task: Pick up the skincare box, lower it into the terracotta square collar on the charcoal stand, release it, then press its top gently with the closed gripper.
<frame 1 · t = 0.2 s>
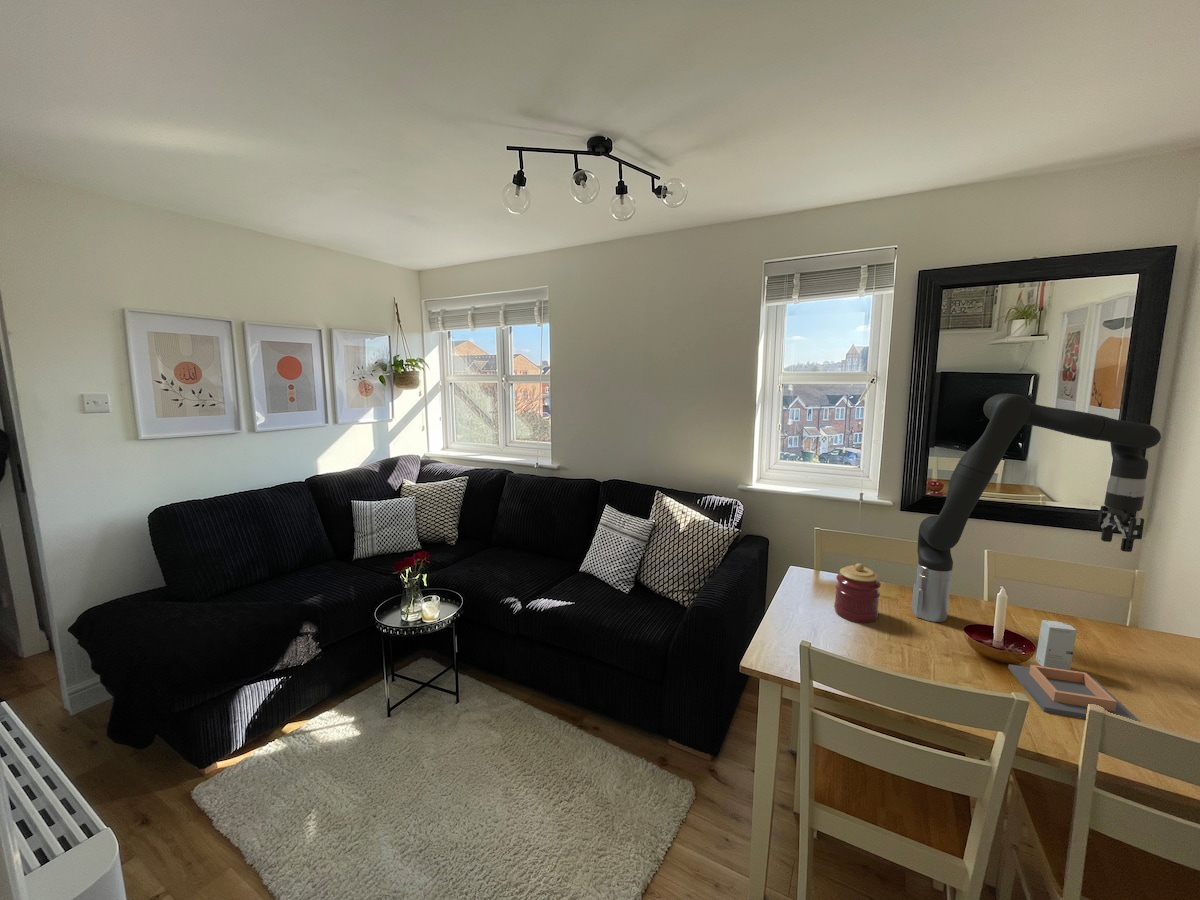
hand: (1115, 546, 143), 29 cm above the table, fingers open, 8 cm apart
skincare box: (1052, 666, 134), on the table
collar stand: (1068, 695, 122), on the table
canister: (855, 614, 163), on the table
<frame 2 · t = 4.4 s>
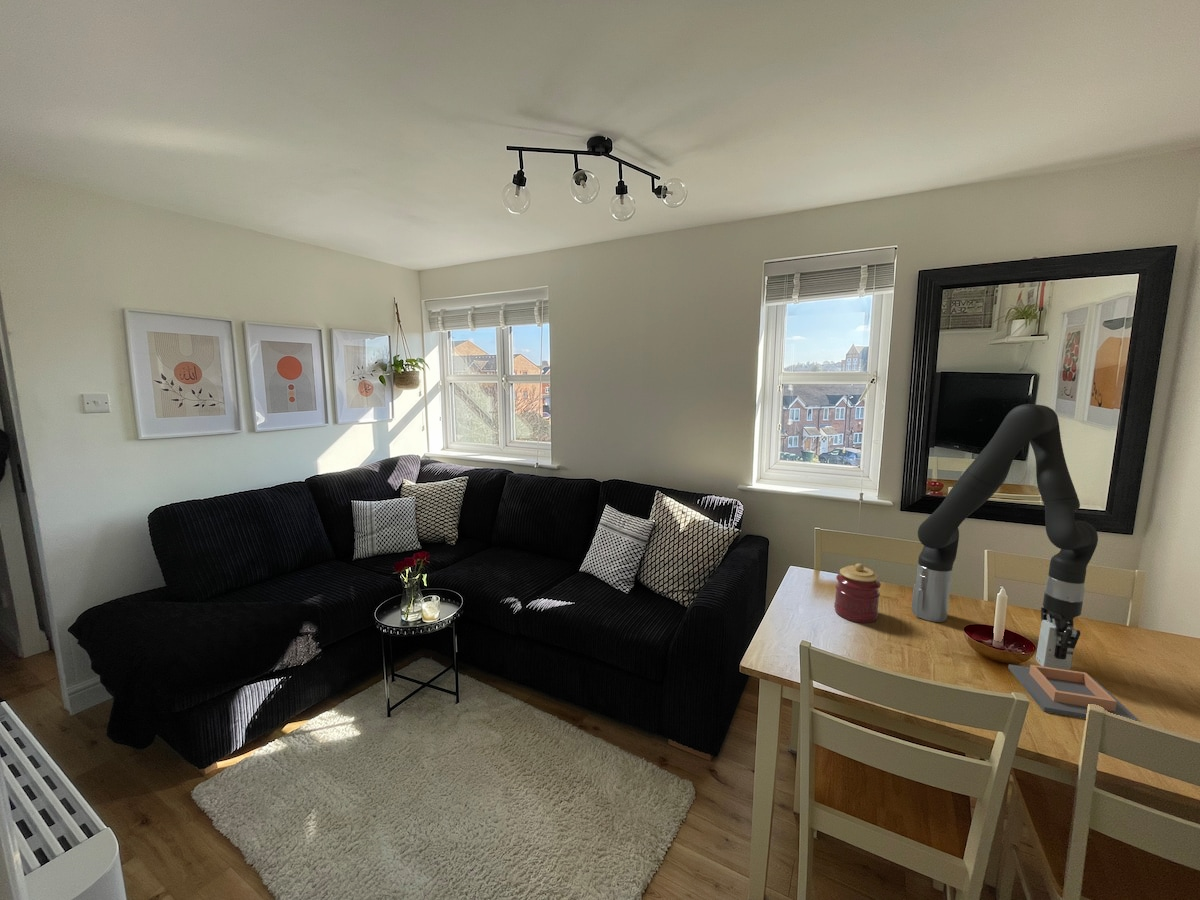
hand: (1054, 653, 133), 4 cm above the table, fingers closed on skincare box, 4 cm apart
skincare box: (1052, 666, 134), on the table, touching gripper
everything else where it was.
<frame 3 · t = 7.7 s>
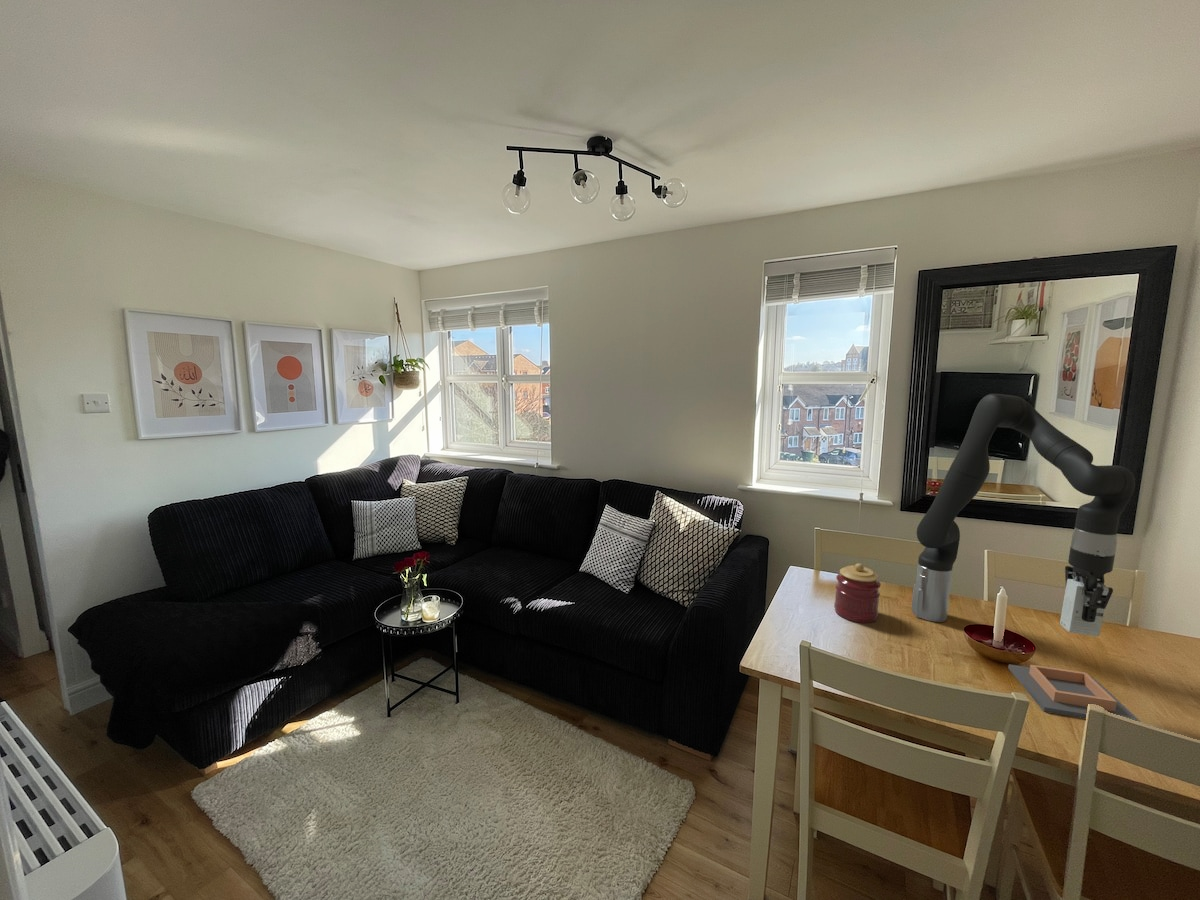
hand: (1081, 615, 118), 21 cm above the table, fingers closed on skincare box, 4 cm apart
skincare box: (1079, 631, 119), point 17 cm above the table, touching gripper
everything else where it was.
when the fingers open (6 cm above the table, at t = 11.3 s): skincare box drops 1 cm, resting on collar stand.
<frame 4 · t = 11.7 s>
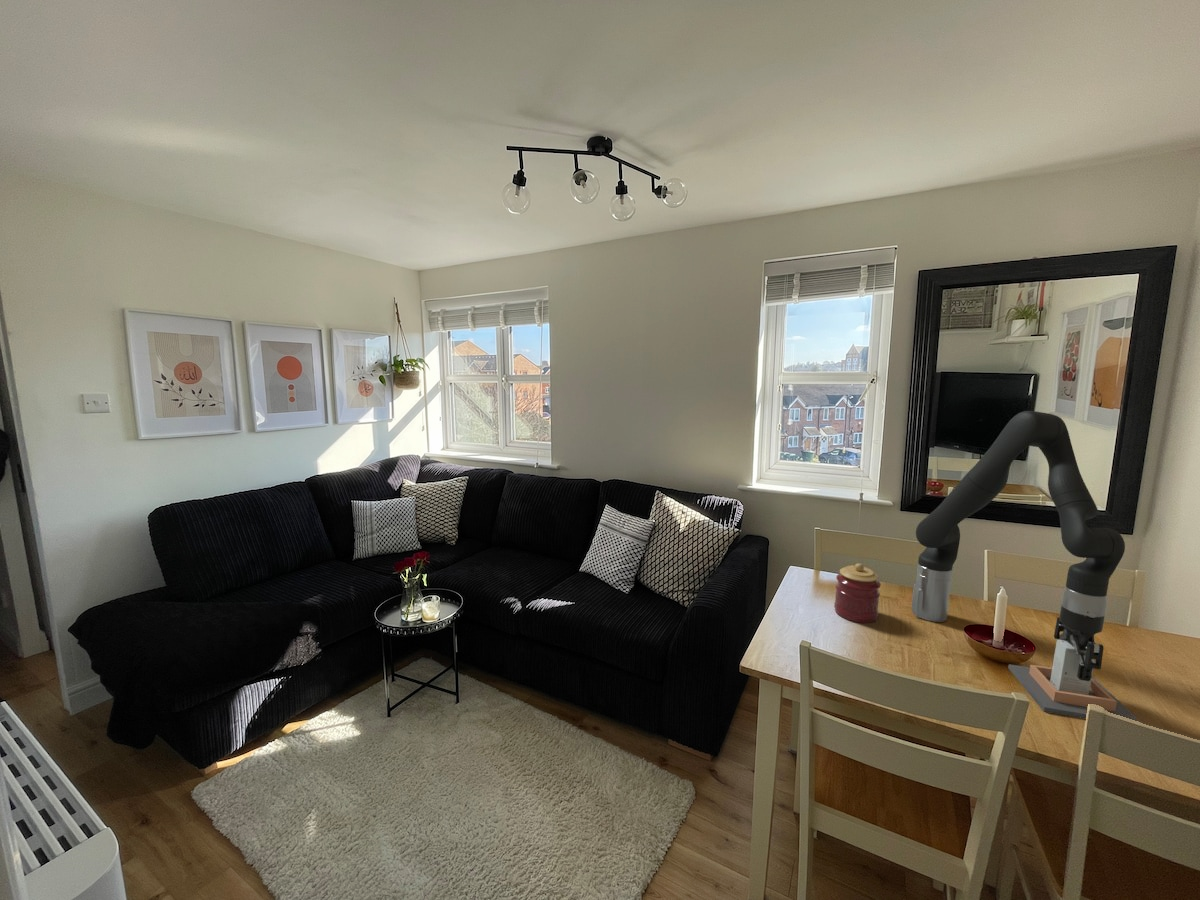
hand: (1073, 669, 121), 7 cm above the table, fingers open, 8 cm apart
skincare box: (1068, 691, 122), point 1 cm above the table, touching collar stand
everything else where it was.
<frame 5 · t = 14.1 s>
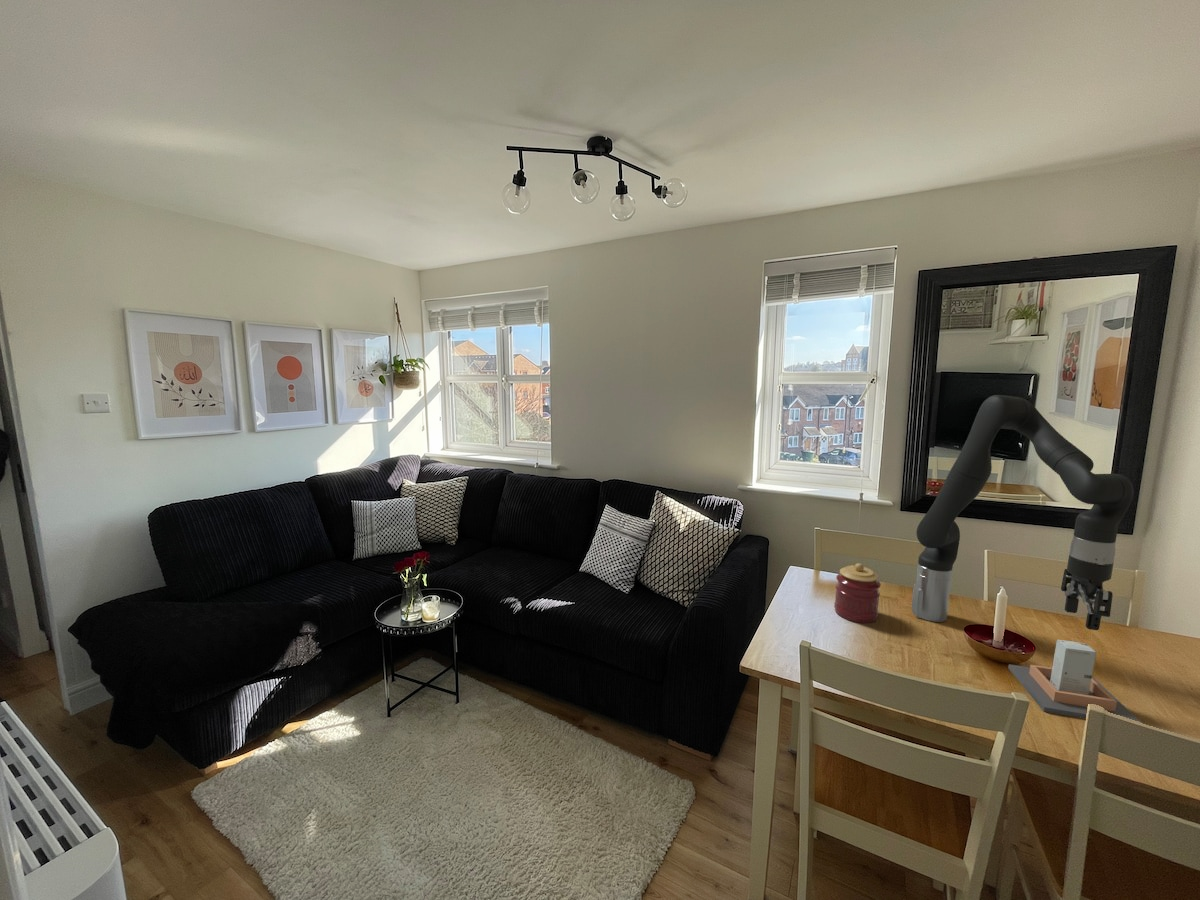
hand: (1080, 620, 118), 20 cm above the table, fingers open, 8 cm apart
nothing on the table moved.
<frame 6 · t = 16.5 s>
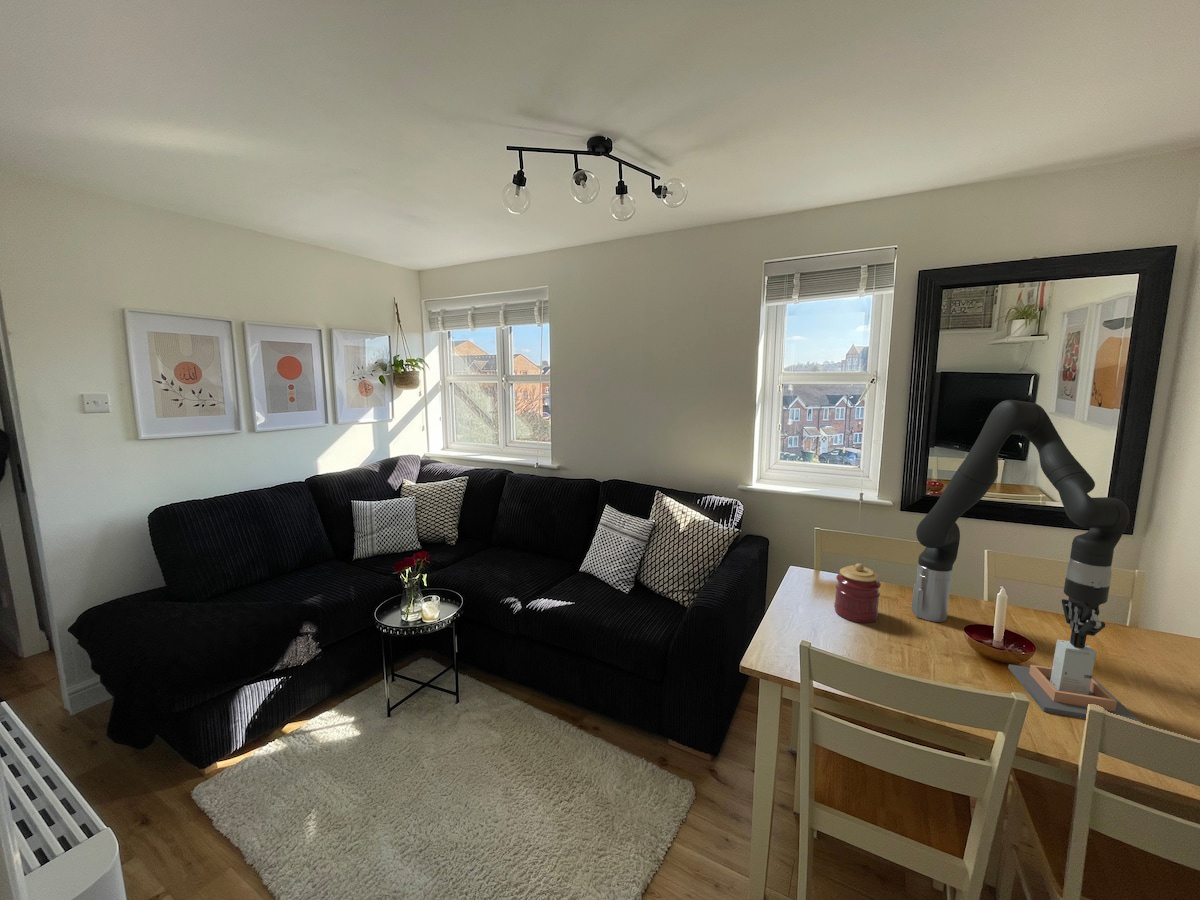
hand: (1077, 646, 120), 13 cm above the table, fingers closed
skincare box: (1068, 691, 122), point 1 cm above the table, touching collar stand, gripper
everything else where it was.
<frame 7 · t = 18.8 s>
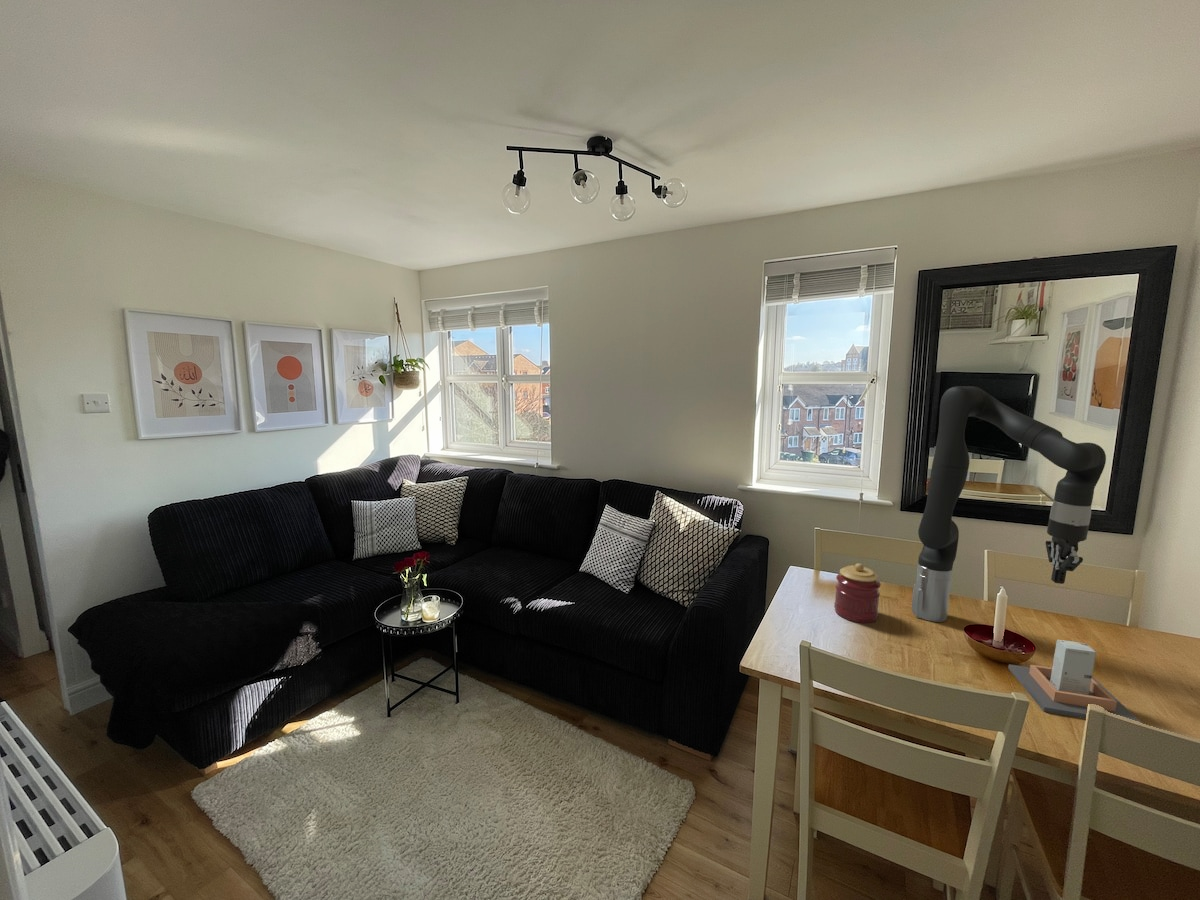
hand: (1057, 582, 129), 25 cm above the table, fingers closed
skincare box: (1068, 691, 122), point 1 cm above the table, touching collar stand
everything else where it was.
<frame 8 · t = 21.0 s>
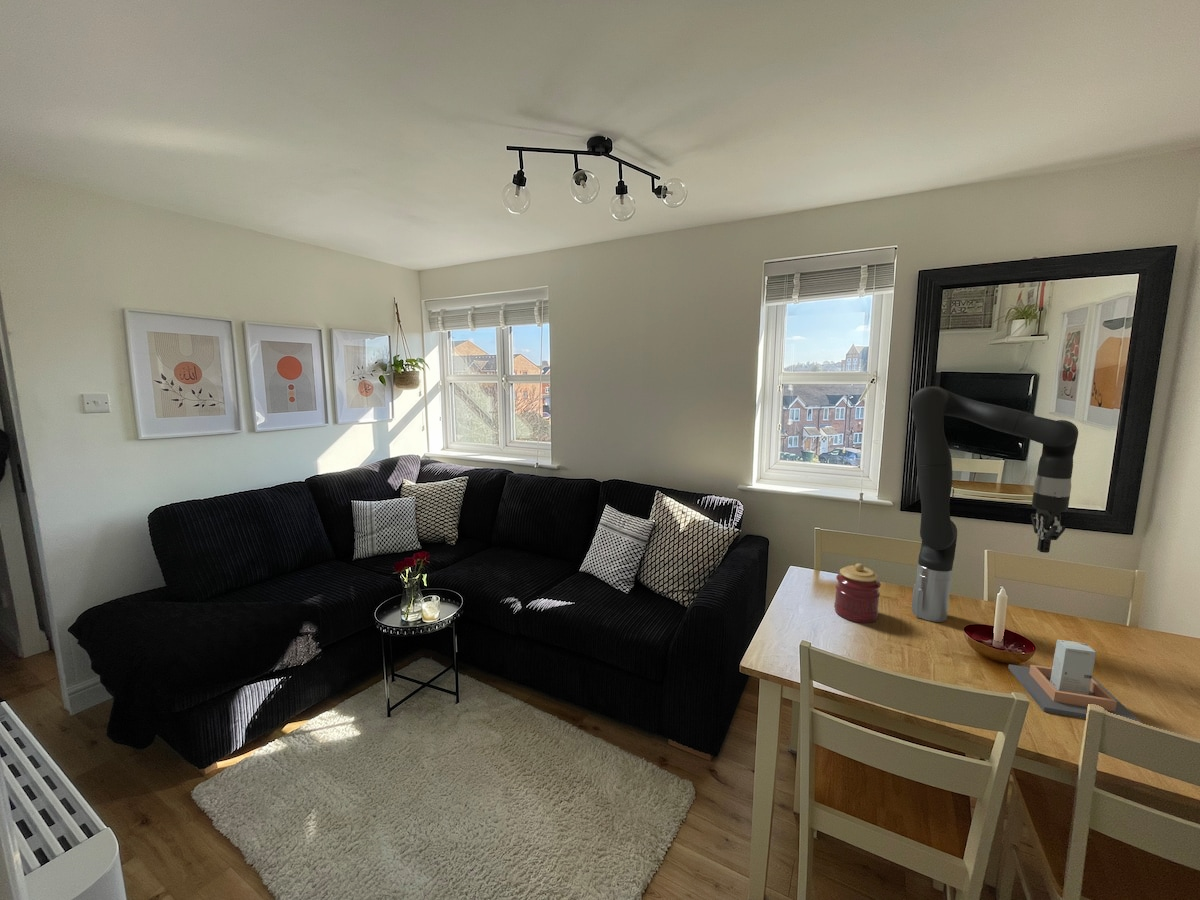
hand: (1043, 551, 139), 29 cm above the table, fingers closed
nothing on the table moved.
at the end: skincare box 0.4 cm off-centre on the collar stand, point 1.0 cm above the collar stand's base; skincare box tilted 0°; the gripper is holding nothing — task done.
